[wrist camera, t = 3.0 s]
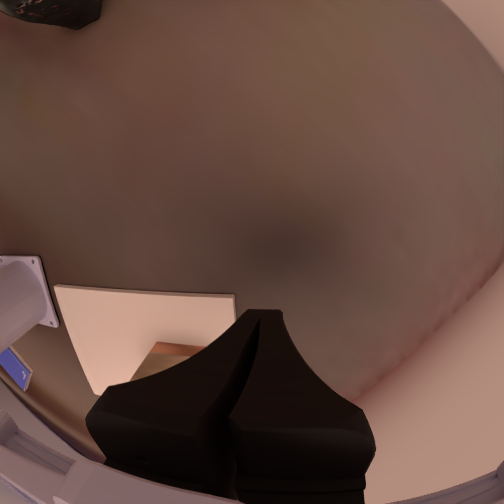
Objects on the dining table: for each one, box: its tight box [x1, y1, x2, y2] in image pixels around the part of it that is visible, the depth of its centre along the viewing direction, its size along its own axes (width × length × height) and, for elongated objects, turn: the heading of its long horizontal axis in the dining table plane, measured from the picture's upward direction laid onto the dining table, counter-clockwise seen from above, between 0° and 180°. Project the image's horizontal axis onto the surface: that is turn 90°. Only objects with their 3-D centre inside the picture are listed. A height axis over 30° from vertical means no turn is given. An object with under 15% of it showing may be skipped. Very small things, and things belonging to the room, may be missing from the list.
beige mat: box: [54, 284, 236, 395], centre depth 25 cm, size 18×14×1 cm
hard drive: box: [0, 345, 33, 391], centre depth 31 cm, size 2×8×12 cm
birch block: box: [130, 342, 207, 381], centre depth 19 cm, size 5×5×10 cm
